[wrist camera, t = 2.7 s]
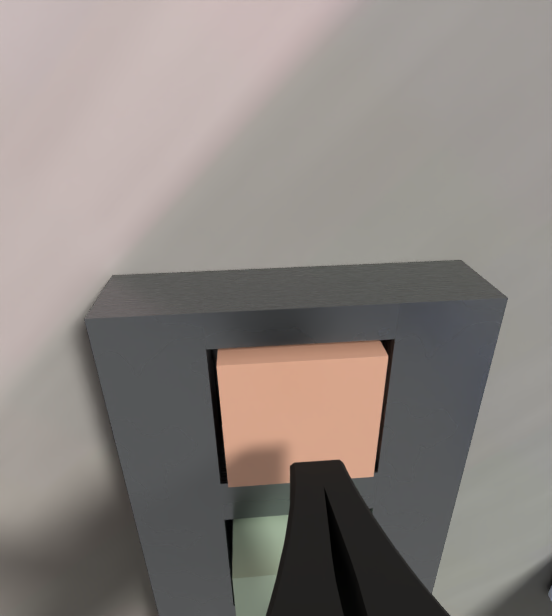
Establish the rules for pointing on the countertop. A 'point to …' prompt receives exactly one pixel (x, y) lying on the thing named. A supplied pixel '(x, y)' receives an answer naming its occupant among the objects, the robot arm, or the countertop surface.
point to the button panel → (273, 332)
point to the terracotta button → (300, 408)
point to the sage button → (256, 561)
